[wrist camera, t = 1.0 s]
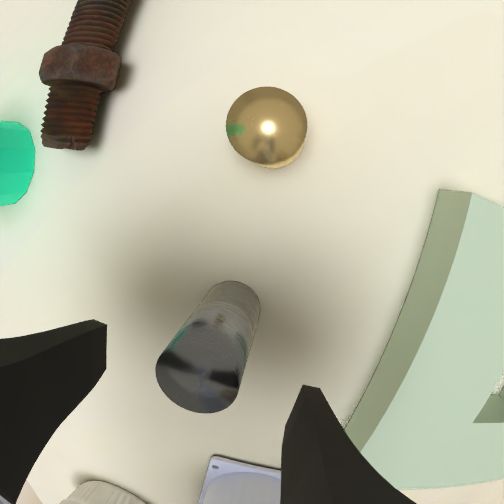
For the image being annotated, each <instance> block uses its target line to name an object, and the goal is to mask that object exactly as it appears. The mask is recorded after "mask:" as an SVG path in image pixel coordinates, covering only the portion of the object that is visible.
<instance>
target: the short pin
mask: <svg viewBox="0 0 504 504" xmlns="http://www.w3.org/2000/svg"><path fill="white" fill-rule="evenodd" d="M226 131H227V136H228V138H229V141H230V143H231V145H232V146H233V148H234V149H235V150H236V151H237V152H238V153H239V154H240V155H241V156H243V157H244V158H246V159H248V160H250V161H252V162H254V163H256V164H258V165H260V166H262V167H266V168H281V167H284V166H287V165H289V164H290V163H292V162H293V161H294V160H295V159H296V158H297V157H298V156H299V154H300V152H301V150H302V147H303V144H304V140H305V136H306V132H307V118H306V114H305V111H304V109H303V107H302V105H301V104H300V103H299V101H298V100H297V99H296V98H295V97H294V96H293V95H291V94H290V93H288V92H286V91H284V90H282V89H279V88H275V87H259V88H255V89H252V90H249V91H247V92H245V93H244V94H242V95H241V96H240V97H239V98H238V99H237V100H236V101H235V102H234V103H233V105H232V106H231V108H230V110H229V112H228V115H227V120H226Z"/></svg>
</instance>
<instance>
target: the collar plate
mask: <svg viewBox="0 0 504 504" xmlns="http://www.w3.org/2000/svg"><path fill="white" fill-rule="evenodd" d="M503 372H504V207H502V206H500V205H498V204H496V203H494V202H492V201H490V200H487V199H485V198H483V197H481V196H479V195H476V194H474V193H471V192H462V191H451V190H440V189H439V193H438V197H437V201H436V205H435V209H434V213H433V217H432V220H431V224H430V228H429V231H428V235H427V238H426V241H425V245H424V248H423V251H422V254H421V257H420V260H419V264H418V267H417V270H416V273H415V275H414V278H413V281H412V284H411V287H410V290H409V292H408V295H407V298H406V300H405V303H404V306H403V308H402V311H401V313H400V316H399V318H398V321H397V323H396V326H395V328H394V331H393V333H392V335H391V338H390V340H389V342H388V344H387V347H386V349H385V351H384V353H383V356H382V358H381V360H380V362H379V364H378V366H377V369H376V371H375V373H374V375H373V377H372V379H371V381H370V383H369V385H368V387H367V389H366V391H365V393H364V395H363V397H362V399H361V401H360V403H359V404H358V406H357V408H356V410H355V412H354V414H353V416H352V417H351V419H350V421H349V423H348V424H347V426H346V428H345V430H344V431H345V432H346V434H347V435H348V437H349V438H350V440H351V441H352V442H353V444H354V445H355V446H356V448H357V449H358V450H359V452H360V453H361V454H362V455H363V457H364V458H365V459H366V460H367V461H368V462H369V463H370V464H371V465H372V467H373V468H374V469H375V470H376V471H377V472H378V473H379V474H380V475H381V476H382V477H383V478H385V479H386V480H387V481H388V482H389V483H390V484H391V485H392V486H393V487H395V488H396V489H397V490H416V489H434V488H446V487H456V486H464V485H472V484H479V483H485V482H491V481H496V480H501V479H504V387H503V389H502V391H501V392H500V394H499V395H491V393H492V391H493V390H494V388H495V386H496V384H497V383H498V381H499V379H500V377H501V376H502V374H503Z"/></svg>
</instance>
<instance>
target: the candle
mask: <svg viewBox="0 0 504 504" xmlns="http://www.w3.org/2000/svg"><path fill="white" fill-rule="evenodd" d="M34 158H35V147H34V144H33V141H32V137H31V134H30V131H29V130H28V129H27V128H25V127H24V126H23V125H21V124H20V123H17V122H9V121H0V206H3V205H9V204H15V203H16V202H17V201H18V200H19V199H20V198H21V197H22V196H23V195H24V194H25V193H26V192H27V189H28V187H29V184H30V181H31V178H32V176H33V173H34Z"/></svg>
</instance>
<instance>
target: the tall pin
mask: <svg viewBox="0 0 504 504" xmlns="http://www.w3.org/2000/svg"><path fill="white" fill-rule="evenodd" d="M259 314H260V303H259V300H258V297H257V296H256V294H255V293H254V291H253V290H252V289H251V288H249V287H248V286H246V285H245V284H243V283H240V282H236V281H225V282H221V283H219V284H217V285H215V286H214V287H213V288H212V289H211V290H210V291H209V293H208V294H207V295H206V296H205V298H204V299H203V300H202V302H201V303H200V304H199V306H198V307H197V308H196V309H195V311H194V312H193V313H192V315H191V316H190V317H189V319H188V320H187V321H186V323H185V324H184V325H183V326H182V328H181V329H180V330H179V332H178V333H177V334H176V336H175V337H174V338H173V340H172V341H171V342H170V344H169V345H168V346H167V348H166V349H165V350H164V351H163V353H162V354H161V355H160V357H159V359H158V361H157V363H156V378H157V381H158V384H159V386H160V388H161V389H162V391H163V392H164V393H165V395H166V396H167V397H168V398H169V399H170V400H172V401H173V402H174V403H176V404H177V405H179V406H180V407H182V408H184V409H187V410H190V411H193V412H197V413H215V412H219V411H221V410H224V409H225V408H227V407H228V406H230V405H231V404H232V403H233V402H234V400H235V398H236V396H237V394H238V390H239V387H240V383H241V380H242V376H243V373H244V369H245V366H246V362H247V358H248V355H249V351H250V348H251V344H252V340H253V337H254V333H255V329H256V326H257V322H258V318H259Z"/></svg>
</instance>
